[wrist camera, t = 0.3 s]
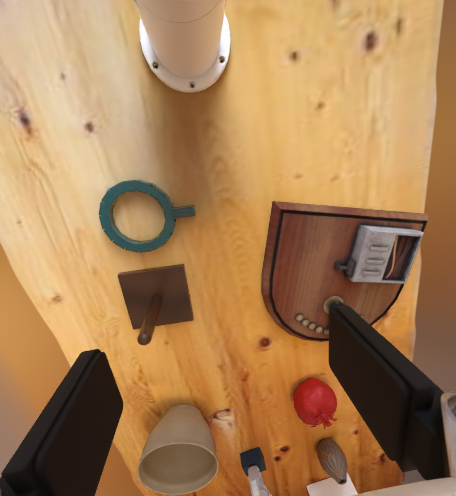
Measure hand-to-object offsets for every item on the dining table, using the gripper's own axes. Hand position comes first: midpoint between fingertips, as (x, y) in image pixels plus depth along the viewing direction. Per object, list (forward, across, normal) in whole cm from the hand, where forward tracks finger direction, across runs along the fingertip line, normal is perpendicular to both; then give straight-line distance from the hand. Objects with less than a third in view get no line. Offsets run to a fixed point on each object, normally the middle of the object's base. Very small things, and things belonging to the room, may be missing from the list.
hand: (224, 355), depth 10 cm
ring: (+35, +10, -1) cm, 36 cm away
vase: (+36, -23, +70) cm, 82 cm away
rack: (+35, +12, +15) cm, 40 cm away
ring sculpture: (+36, -2, +68) cm, 77 cm away
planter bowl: (+36, +14, +49) cm, 62 cm away
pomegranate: (+36, -18, +48) cm, 62 cm away
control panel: (+35, -24, +18) cm, 46 cm away
